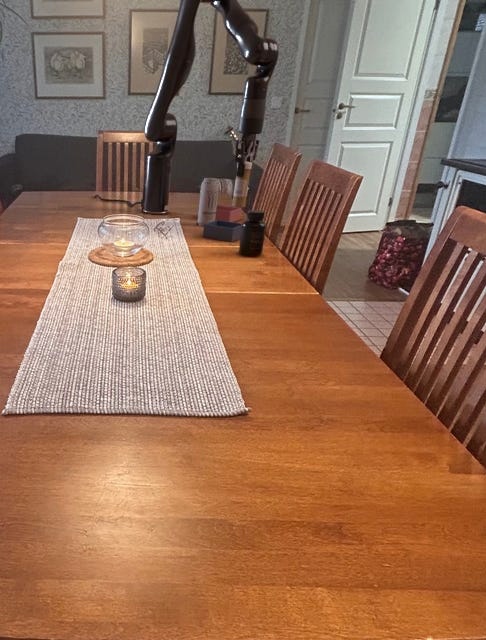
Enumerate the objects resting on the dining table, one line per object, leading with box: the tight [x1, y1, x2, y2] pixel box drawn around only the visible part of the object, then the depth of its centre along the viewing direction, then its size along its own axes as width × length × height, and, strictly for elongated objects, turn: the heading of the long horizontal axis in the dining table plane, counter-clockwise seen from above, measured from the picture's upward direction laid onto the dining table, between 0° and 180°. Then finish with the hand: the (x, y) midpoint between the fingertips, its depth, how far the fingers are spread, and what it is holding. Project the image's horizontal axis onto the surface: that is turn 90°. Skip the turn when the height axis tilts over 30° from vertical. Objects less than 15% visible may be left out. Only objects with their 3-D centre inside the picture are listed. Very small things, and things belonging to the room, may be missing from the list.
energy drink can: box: [197, 177, 220, 227], centre depth 206 cm, size 6×6×15 cm
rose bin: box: [215, 204, 242, 222], centre depth 220 cm, size 10×10×4 cm
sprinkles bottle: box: [231, 162, 253, 209], centre depth 194 cm, size 5×5×14 cm
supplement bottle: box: [238, 209, 267, 258], centre depth 172 cm, size 7×7×12 cm
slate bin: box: [202, 220, 243, 243], centre depth 193 cm, size 10×10×4 cm
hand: (242, 175), depth 193 cm, fingers closed on sprinkles bottle, 4 cm apart
